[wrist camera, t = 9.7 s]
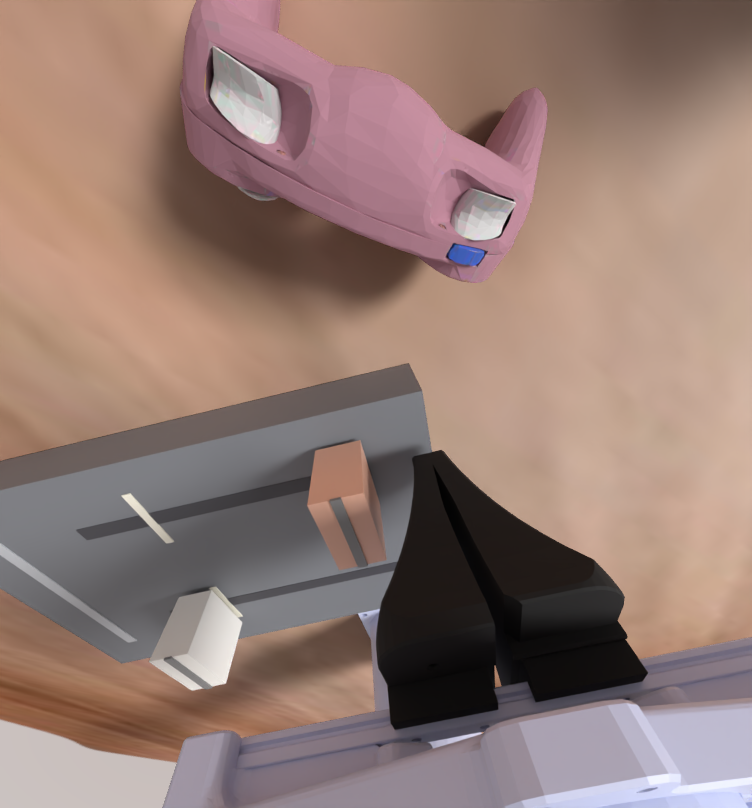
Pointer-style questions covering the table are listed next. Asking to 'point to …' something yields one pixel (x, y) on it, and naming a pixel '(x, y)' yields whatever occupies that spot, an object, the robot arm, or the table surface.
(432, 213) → the video game controller
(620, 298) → the table surface
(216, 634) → the fader white
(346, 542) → the fader terracotta
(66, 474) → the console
